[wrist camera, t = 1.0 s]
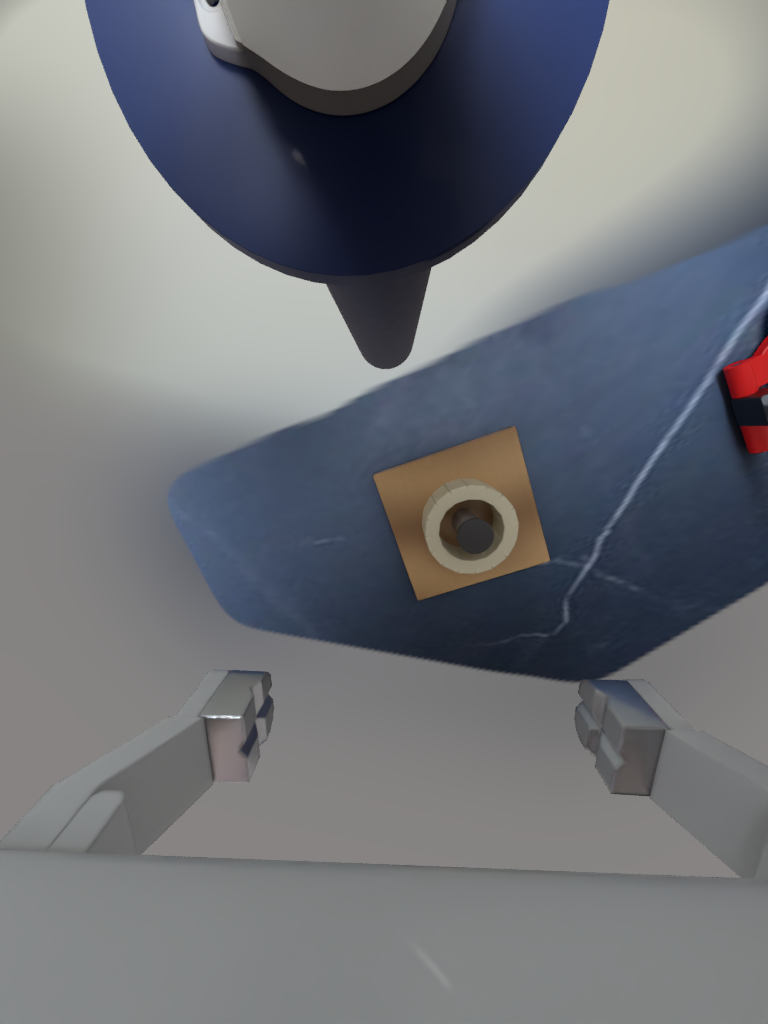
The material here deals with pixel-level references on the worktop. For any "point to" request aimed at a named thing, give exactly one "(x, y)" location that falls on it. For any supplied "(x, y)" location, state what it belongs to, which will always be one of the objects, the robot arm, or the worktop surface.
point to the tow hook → (751, 397)
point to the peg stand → (462, 510)
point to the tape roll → (502, 526)
